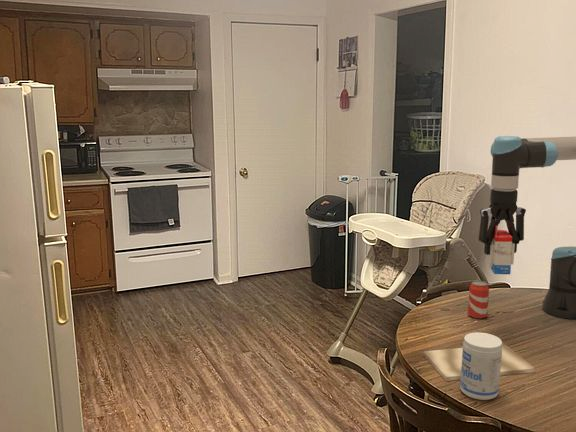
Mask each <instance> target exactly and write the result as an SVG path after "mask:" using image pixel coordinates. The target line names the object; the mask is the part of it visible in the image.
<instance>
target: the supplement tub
mask: <svg viewBox="0 0 576 432" xmlns="http://www.w3.org/2000/svg"><path fill="white" fill-rule="evenodd" d="M462 343H463V344H462V348H463V352H462V366H461V380H460V381H459V382H460V383H459V384H460V385H459V388H460V390H461V392H462V393H463V394H464V395H465V396H466V397H469V398H471V399H475V400H479V401H480V400H481V401H488V400H493V399H495V398H497V396H498V394H499V392H500V391H499V389H500V378H501V376H500V369H501V358H502V344H503V341H502V340H501V338H499V337H498V336H497V335H494V334H490V333H487V332H486V333H485V332H477V331H476V332H470V333H467V334H466V335H465V336H464V339H463V342H462Z"/></svg>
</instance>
